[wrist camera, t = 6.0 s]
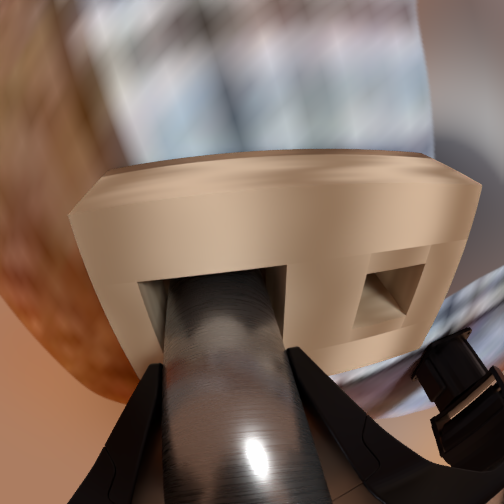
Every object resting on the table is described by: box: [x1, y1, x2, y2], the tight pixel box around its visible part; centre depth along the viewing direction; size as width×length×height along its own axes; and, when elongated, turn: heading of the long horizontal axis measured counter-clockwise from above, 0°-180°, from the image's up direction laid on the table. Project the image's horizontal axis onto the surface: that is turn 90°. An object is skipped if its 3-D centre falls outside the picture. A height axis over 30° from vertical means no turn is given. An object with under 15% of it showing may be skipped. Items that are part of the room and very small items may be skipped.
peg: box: [162, 268, 333, 504], centre depth 8 cm, size 4×4×10 cm
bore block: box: [68, 149, 482, 380], centre depth 13 cm, size 15×10×4 cm, turn 92°
